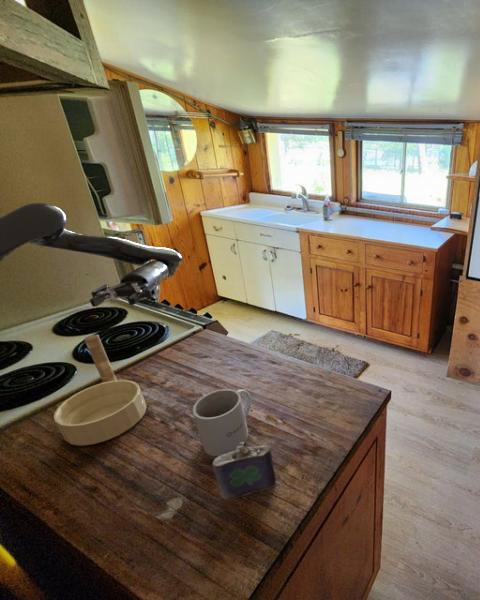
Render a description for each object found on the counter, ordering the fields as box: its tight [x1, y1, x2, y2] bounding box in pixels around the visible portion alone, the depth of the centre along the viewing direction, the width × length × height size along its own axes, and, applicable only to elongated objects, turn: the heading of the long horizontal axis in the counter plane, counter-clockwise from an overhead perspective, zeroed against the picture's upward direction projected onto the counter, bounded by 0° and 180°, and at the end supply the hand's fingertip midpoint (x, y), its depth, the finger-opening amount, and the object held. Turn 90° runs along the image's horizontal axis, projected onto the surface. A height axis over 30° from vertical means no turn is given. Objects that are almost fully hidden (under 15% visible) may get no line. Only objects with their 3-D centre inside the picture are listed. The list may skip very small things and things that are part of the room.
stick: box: [84, 334, 123, 384], centre depth 80 cm, size 4×4×15 cm
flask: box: [212, 442, 277, 501], centre depth 58 cm, size 9×3×11 cm, turn 109°
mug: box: [192, 388, 252, 457], centre depth 69 cm, size 12×9×10 cm
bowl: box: [53, 379, 147, 447], centre depth 71 cm, size 14×14×6 cm
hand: (111, 302), depth 85 cm, fingers open, 8 cm apart
